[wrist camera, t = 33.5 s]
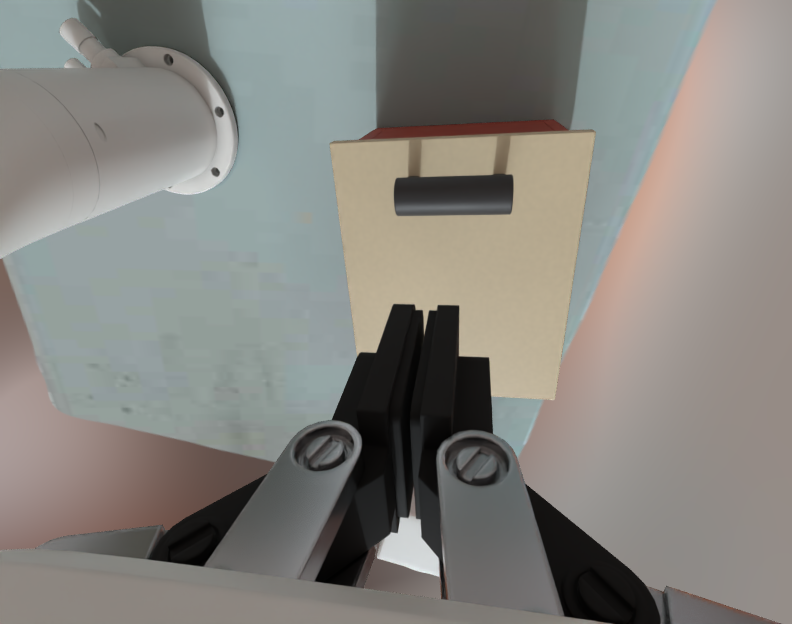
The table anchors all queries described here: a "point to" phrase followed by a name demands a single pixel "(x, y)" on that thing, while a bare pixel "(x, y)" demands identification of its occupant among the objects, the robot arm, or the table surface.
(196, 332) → the table surface
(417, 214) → the lid
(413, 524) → the rectangular carton
